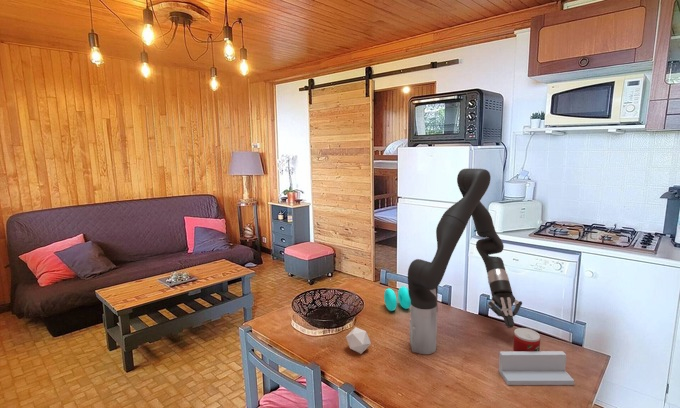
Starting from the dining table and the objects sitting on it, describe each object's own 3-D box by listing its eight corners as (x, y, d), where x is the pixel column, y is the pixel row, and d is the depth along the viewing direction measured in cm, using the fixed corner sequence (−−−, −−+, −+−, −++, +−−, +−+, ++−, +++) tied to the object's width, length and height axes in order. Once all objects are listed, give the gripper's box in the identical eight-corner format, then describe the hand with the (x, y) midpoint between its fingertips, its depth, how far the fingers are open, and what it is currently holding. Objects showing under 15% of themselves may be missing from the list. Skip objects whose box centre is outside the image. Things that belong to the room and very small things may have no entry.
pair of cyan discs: (383, 305, 169) (383, 285, 168) (403, 302, 172) (403, 282, 170) (391, 315, 160) (391, 293, 158) (412, 312, 162) (412, 291, 160)
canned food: (529, 373, 117) (531, 342, 115) (507, 361, 124) (508, 331, 122) (543, 366, 121) (545, 335, 119) (521, 354, 128) (523, 325, 126)
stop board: (507, 385, 112) (508, 364, 111) (498, 371, 119) (499, 351, 118) (574, 385, 111) (575, 364, 110) (561, 370, 118) (562, 351, 117)
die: (375, 351, 134) (369, 324, 138) (368, 351, 126) (361, 323, 131) (355, 356, 136) (349, 330, 140) (346, 356, 129) (341, 329, 133)
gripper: (484, 279, 140) (495, 324, 130) (519, 278, 139) (533, 324, 129) (479, 286, 146) (489, 330, 136) (513, 286, 145) (525, 330, 135)
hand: (510, 327), depth 133 cm, fingers closed
